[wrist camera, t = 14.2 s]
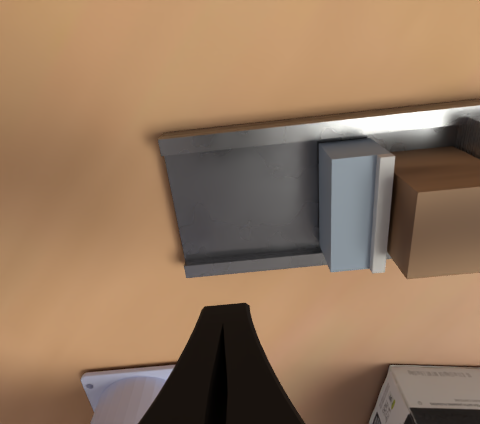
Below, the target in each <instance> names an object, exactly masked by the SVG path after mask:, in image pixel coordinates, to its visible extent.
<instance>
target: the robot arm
mask: <svg viewBox="0 0 480 424" xmlns="http://www.w3.org/2000/svg"><path fill="white" fill-rule="evenodd" d="M81 383H82V385H83V388H84V390H85V392H86V395H87V397H88V399H89V402H90V404H91V406H92V409H93V411H94V415H93V417H92V420H91V423H90V424H305V423H304V421H303V420H302V418H301V417H300V415H299V413H298V412H297V410H296V409H295V407H294V406H293V404H292V402H291V401H290V399H289V398H288V396H287V394H286V393H285V391H284V389H283V387H282V386H281V384H280V382H279V380H278V378H277V376H276V375H275V373H274V371H273V369H272V367H271V365H270V363H269V361H268V359H267V357H266V355H265V352H264V350H263V348H262V346H261V344H260V341H259V339H258V336H257V333H256V331H255V328H254V325H253V322H252V318H251V314H250V306H249V305H248V304H246V303H238V304H227V305H217V306H206V307H204V308H203V309H202V311H201V313H200V316H199V319H198V321H197V323H196V326H195V328H194V330H193V332H192V334H191V336H190V338H189V340H188V343H187V344H186V346H185V348H184V350H183V352H182V354H181V356H180V358H179V360H178V361H177V363H176V365H166V366H154V367H143V368H131V369H120V370H109V371H97V372H87V373H84V374H83V376H82V378H81Z"/></svg>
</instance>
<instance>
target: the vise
mask: <svg viewBox="0 0 480 424" xmlns="http://www.w3.org/2000/svg"><path fill="white" fill-rule="evenodd" d="M365 138H371V139H372V140H374V141H375V142H376V143H378V144H379V145H381V146H382V147H383V148H385V149H386V150H387V151H389V152H397V151H407V150H417V149H427V148H437V147H448V146H453V147H455V148H457V149H460V150H462V151H464V152H466V153H468V154H470V155H472V156H474V157H476V158H478V159H480V99H473V100H464V101H454V102H445V103H436V104H426V105H417V106H408V107H398V108H389V109H380V110H370V111H361V112H352V113H343V114H333V115H324V116H315V117H305V118H296V119H287V120H277V121H268V122H259V123H249V124H240V125H231V126H221V127H212V128H203V129H194V130H184V131H175V132H166V133H163V134H162V135H161V136H160V138H159V139H158V143H159V148H160V153H161V156H164V158H165V163H166V168H167V173H168V178H169V183H170V187H171V192H172V197H173V202H174V207H175V212H176V217H177V222H178V227H179V232H180V237H181V242H182V247H183V252H184V257H185V264H184V269H185V274H186V278H192V277H203V276H213V275H224V274H234V273H245V272H255V271H266V270H277V269H287V268H298V267H308V266H319V265H328V264H327V262H326V260H325V257H324V255H323V252H322V250H321V248H320V245H319V143H327V142H336V141H346V140H355V139H365ZM386 259H392V258H391V256H390V255H389V254H388V252H387V254H386Z"/></svg>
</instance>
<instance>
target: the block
mask: <svg viewBox="0 0 480 424" xmlns="http://www.w3.org/2000/svg"><path fill="white" fill-rule="evenodd" d="M390 153H392V154H393V155H394V156H395V165H394V176H393V187H392V198H391V209H390V221H389V232H388V243H387V252H388V254H389V255H390V256H391V258H392V259H393V261H394V262H395V263H396V265H397V266H398V268H399V269H400V270H401V272H402V273H403V274H404V276H405V277H406V279H413V278H425V277H436V276H447V275H458V274H470V273H480V159H478V158H476V157H474V156H472V155H470V154H468V153H466V152H464V151H462V150H460V149H457V148H455V147H453V146H448V147H437V148H427V149H417V150H407V151H397V152H390Z"/></svg>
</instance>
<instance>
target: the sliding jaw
mask: <svg viewBox="0 0 480 424" xmlns="http://www.w3.org/2000/svg"><path fill="white" fill-rule="evenodd" d="M394 165H395V156H394V155H393V154H392V153H390V152H389V151H387V150H386V149H385V148H383V147H382V146H381V145H379V144H378V143H376V142H375V141H374V140H372V139H371V138H365V139H355V140H346V141H336V142H327V143H319V245H320V248H321V250H322V252H323V255H324V257H325V260H326V262H327V264H328V267H329V269H330V272H338V271H349V270H359V269H370V270H371V272H372V273H381V272H385V265H386V254H387V243H388V232H389V221H390V209H391V198H392V187H393V176H394Z"/></svg>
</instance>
